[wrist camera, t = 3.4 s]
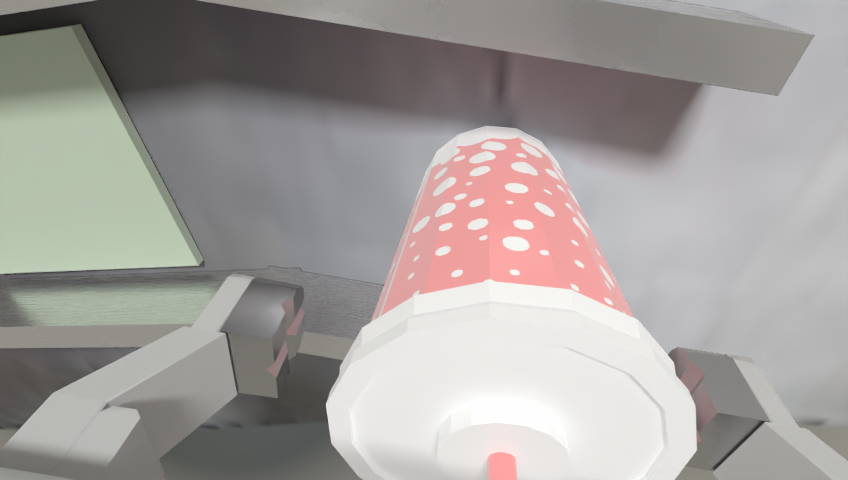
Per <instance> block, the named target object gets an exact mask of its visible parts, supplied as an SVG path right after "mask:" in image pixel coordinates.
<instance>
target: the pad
mask: <svg viewBox="0 0 848 480" xmlns="http://www.w3.org/2000/svg"><path fill="white" fill-rule="evenodd" d="M203 260H204V259H203V257H202V255H201V253H200V251H199V249H198V247H197V246H196V244H195V242H194V240H193V238H192V236H191V234H190V232H189V230H188V228H187V226H186V224H185V223H184V221H183V219H182V217H181V215H180V213H179V211H178V209H177V207H176V205H175V203H174V201H173V200H172V198H171V196H170V194H169V192H168V190H167V188H166V186H165V184H164V182H163V180H162V178H161V177H160V175H159V173H158V171H157V169H156V167H155V165H154V163H153V161H152V159H151V157H150V155H149V154H148V152H147V150H146V148H145V146H144V144H143V142H142V140H141V138H140V136H139V134H138V132H137V131H136V129H135V127H134V125H133V123H132V121H131V119H130V117H129V115H128V113H127V111H126V109H125V108H124V106H123V104H122V102H121V100H120V98H119V96H118V94H117V92H116V90H115V88H114V86H113V85H112V83H111V81H110V79H109V77H108V75H107V73H106V71H105V69H104V67H103V65H102V63H101V62H100V60H99V58H98V56H97V54H96V52H95V50H94V48H93V46H92V44H91V42H90V40H89V39H88V37H87V35H86V33H85V31H84V29H83V27H82V25H81V24H77V25H70V26H63V27H56V28H49V29H42V30H36V31H29V32H22V33H15V34H8V35H1V36H0V274H3V273H28V272H52V271H77V270H101V269H126V268H151V267H175V266H199V265H200V263H201V262H202V261H203Z"/></svg>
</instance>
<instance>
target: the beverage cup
mask: <svg viewBox="0 0 848 480" xmlns="http://www.w3.org/2000/svg"><path fill="white" fill-rule="evenodd" d="M326 409H327V416H328V423H329V430H330V437H331V443H332V445H333V446H334V447H335V448H336V450H337V451H338V452H339V453H340V455H341V456H342V457H343V458H344V460H345V461H346V462H347V463H348V464H349V466H350V467H351V468H352V469H353V471H354V472H355V473H356V474H357V475H358V477H360V478H361V479H363V480H674V479H675V478H676V477H677V476H678V474H679V473H680V472H681V470H682V469H683V468H684V466H685V465H686V464H687V463H688V461H689V460H690V459H691V457H692V456H693V455H694V454H695V452H696V451H697V437H696V406H695V403H694V401H693V399H692V397H691V395H690V392H689V390H688V389H687V387H686V386H685V385H684V384H683V383H682V382H681V380H680V379H679V378H678V377H677V376H676V373H675V366H674V362H673V361H672V360H671V358H670V357H669V356H668V355H667V354H666V353H665V351H664V350H663V349H662V348H661V347H660V345H659V344H658V343H657V342H656V341H655V340H654V338H653V337H652V336H651V335H650V334H649V333H648V331H647V330H646V329H645V328H644V327H643V325H642V324H641V323H640V322H639V321H638V320H637V319H635V318H634V317H633V315H632V313H631V311H630V309H629V307H628V305H627V303H626V300H625V298H624V296H623V294H622V292H621V290H620V288H619V286H618V284H617V282H616V280H615V278H614V276H613V274H612V272H611V270H610V268H609V266H608V264H607V262H606V260H605V258H604V256H603V254H602V252H601V250H600V248H599V246H598V244H597V242H596V240H595V237H594V235H593V233H592V231H591V229H590V227H589V225H588V223H587V221H586V219H585V217H584V215H583V213H582V211H581V209H580V207H579V205H578V203H577V201H576V199H575V197H574V195H573V193H572V191H571V189H570V187H569V185H568V183H567V181H566V179H565V177H564V174H563V172H562V170H561V168H560V166H559V164H558V162H557V161H556V160H555V158H554V157H553V156H552V154H551V153H550V152H549V151H548V149H547V148H546V147H545V145H544V144H543V143H542V142H541V141H540V140H538V139H536V138H534V137H532V136H530V135H528V134H526V133H524V132H522V131H520V130H519V129H517V128H508V127H496V126H484V127H481V128H477V129H474V130H471V131H467V132H464V133H461V134H458V135H457V136H456V137H454V138H453V139H452V140H451V141H449V142H448V143H447V144H446V145H444V146H443V147H442V148H441V149H439V150H438V151H437V152H436V154H435V156H434V158H433V160H432V162H431V164H430V166H429V167H428V169H427V171H426V173H425V176H424V178H423V181H422V184H421V186H420V189H419V192H418V195H417V197H416V200H415V203H414V205H413V208H412V211H411V214H410V216H409V219H408V222H407V224H406V227H405V230H404V233H403V235H402V238H401V241H400V243H399V246H398V249H397V252H396V254H395V257H394V260H393V262H392V265H391V268H390V271H389V273H388V276H387V279H386V281H385V284H384V287H383V290H382V292H381V295H380V298H379V300H378V303H377V306H376V309H375V311H374V314H373V317H372V319H371V322H370V323H369V324H367V325H366V326H364V327H362V329H361V331H360V333H359V334H358V336H357V338H356V339H355V341H354V343H353V345H352V346H351V348H350V350H349V352H348V353H347V355H346V357H345V359H344V360H343V362H342V364H341V366H340V374H339V377H338V378H337V380H336V382H335V384H334V385H333V387H332V389H331V390H330V393H329V397H328V400H327V403H326Z"/></svg>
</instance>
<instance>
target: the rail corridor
mask: <svg viewBox="0 0 848 480" xmlns="http://www.w3.org/2000/svg"><path fill="white" fill-rule="evenodd" d="M89 1H95V0H0V15H5V14H11V13H18V12H24V11H31V10H37V9H44V8H50V7H57V6H63V5H70V4H76V3H82V2H89ZM198 1H204V2H210V3H216V4H222V5H228V6H234V7H240V8H246V9H252V10H258V11H265V12H271V13H277V14H283V15H289V16H295V17H301V18H307V19H313V20H319V21H325V22H331V23H337V24H343V25H350V26H356V27H362V28H368V29H374V30H380V31H386V32H392V33H398V34H404V35H410V36H416V37H422V38H429V39H435V40H441V41H447V42H453V43H459V44H465V45H471V46H477V47H483V48H489V49H495V50H501V51H507V52H514V53H520V54H526V55H532V56H538V57H544V58H550V59H556V60H562V61H568V62H574V63H580V64H586V65H593V66H599V67H605V68H611V69H617V70H623V71H629V72H635V73H641V74H647V75H653V76H659V77H665V78H671V79H678V80H684V81H690V82H696V83H702V84H708V85H714V86H720V87H726V88H732V89H738V90H744V91H750V92H757V93H763V94H769V95H775V96H778V95H779V93H780V91H781V90H782V88H783V86H784V85H785V83H786V81H787V80H788V78H789V76H790V75H791V73H792V72H793V70H794V68H795V67H796V65H797V63H798V62H799V60H800V58H801V57H802V55H803V53H804V52H805V50H806V48H807V47H808V45H809V43H810V42H811V40H812V39H813V37H814V35H812V34H808V33H805V32H802V31H799V30H796V29H793V28H790V27H786V26H783V25H780V24H777V23H774V22H771V21H768V20H765V19H761V18H758V17H755V16H752V15H749V14H746V13H743V12H738V11H732V10H726V9H720V8H714V7H707V6H701V5H695V4H689V3H683V2H677V1H671V0H198ZM233 273H236V274H241V275H246V276H251V277H259V278H265V279H270V280H275V281H280V282H286V283H291V284H296V285H301V286H302V287H303V288H304V301H303V303H302V305H301V307H300V308H301V309H302V311H303V312H304V313H305V327H304V333H303V337H302V341H301V345H300V347H299V350H298V352H299V353H305V354H311V355H316V356H322V357H328V358H334V359H340V360H344V359H345V357H346V355H347V353H348V352H349V350H350V348H351V346H352V345H353V343H354V341H355V339H356V338H357V336H358V334H359V333H360V331H361V329H362V327H364V326H366V325H367V324H369V323H370V322H371V319H372V317H373V314H374V311H375V309H376V306H377V303H378V300H379V298H380V295H381V292H382V290H383V287H384V285H379V284H373V283H367V282H361V281H355V280H349V279H343V278H337V277H332V276H326V275H320V274H314V273H308V272H302V271H301V269H300V268H286V269H285V268H279V267H273V266H269V267H268V268H267V269H260V270H234V271H208V272H181V273H155V274H129V275H103V276H76V277H50V278H24V279H9V280H8V281H7V282H5V283H4V284H3V285H1V286H0V348H69V347H144V346H146V345H148V344H150V343H152V342H154V341H156V340H158V339H160V338H162V337H164V336H166V335H168V334H170V333H172V332H173V331H175V330H177V329H179V328H181V327H183V326H186V327H192V325H193V324H194V322H195V321H196V320H197V318H198V317H199V316H200V314H201V313H202V311H203V310H204V309H205V307H206V306H207V305H208V303H209V302H210V300H211V299H212V298H213V296H214V295H215V293H216V292H217V291H218V289H219V288H220V287H221V285H222V284H223V282H224V281H225V280H226V278H227V277H228V276H230V275H232V274H233Z"/></svg>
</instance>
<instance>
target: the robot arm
mask: <svg viewBox="0 0 848 480" xmlns="http://www.w3.org/2000/svg"><path fill="white" fill-rule="evenodd" d="M303 301H304V288H303V287H302V286H301V285H296V284H291V283H286V282H280V281H275V280H270V279H265V278H259V277H251V276H246V275H241V274H236V273H233V274H232V275H230V276H228V277H227V278H226V280H225V281H224V282H223V284H222V285H221V287H220V288H219V289H218V291H217V292H216V293H215V295H214V296H213V298H212V299H211V300H210V302H209V303H208V305H207V306H206V307H205V309H204V310H203V311H202V313H201V314H200V316H199V317H198V318H197V320H196V321H195V322H194V324H193V325H192V327H186V326H183V327H181V328H179V329H177V330H175V331H173V332H172V333H170V334H168V335H166V336H164V337H162V338H160V339H158V340H156V341H154V342H152V343H150V344H148V345H146V346H144V347H142V348H140V349H138V350H136V351H134V352H132V353H130V354H128V355H127V356H125V357H123V358H121V359H119V360H117V361H115V362H113V363H111V364H109V365H107V366H105V367H103V368H101V369H99V370H97V371H95V372H93V373H91V374H89V375H87V376H85V377H83V378H82V379H80V380H78V381H76V382H74V383H72V384H70V385H68V386H66V387H64V388H62V389H60V390H58V391H56V392H54V393H52V395H51V396H50V397H49V398H48V399H47V400H46V401H45V402H44V403H43V404H42V405H41V406H40V408H39V409H38V410H37V411H36V412H35V413H34V414H33V415H32V416H31V417H30V418H29V419H28V421H27V422H26V423H25V424H24V425H23V426H22V427H21V428H20V429H19V430H18V431H17V432H16V434H15V435H14V436H13V437H12V438H11V439H10V440H9V441H8V442H7V443H6V445H4V447H3V448H2V449H1V450H0V480H167V478H166V475H165V473H164V471H163V468H162V466H161V464H160V461H159V458H160V457H161V456H163V455H164V454H165V453H167V452H168V451H169V450H170V449H171V448H173V447H174V446H175V445H176V444H177V443H179V442H180V441H181V440H183V439H184V438H185V437H186V436H187V435H189V434H190V433H191V432H192V431H194V430H195V429H196V428H197V427H199V426H200V425H201V424H202V423H204V422H205V421H206V420H207V419H208V418H210V417H211V416H212V415H213V414H215V413H216V412H217V411H218V410H220V409H221V408H222V407H223V406H224V405H226V404H227V403H228V402H229V401H231V400H232V399H233V398H234V397H236V396H237V393H244V394H251V395H259V396H266V397H273V398H278V397H279V395H280V392H281V390H282V388H283V385H284V383H285V381H286V378H287V376H288V374H289V360H290V359H291V358H293V357H294V356H296V355H297V352H298V350H299V347H300V345H301V341H302V337H303V333H304V327H305V313H304V312H303V311H302V309H301V308H300V307H301V305H302V303H303ZM668 356H669V357H670V358H671V360H672V361H673V362H674V366H675V373H676V376H677V377H678V378H679V379H680V380H681V382H682V383H683V384H684V385H685V386H686V387H687V389H688V390H689V392H690V395H691V397H692V399H693V401H694V403H695V406H696V437H697V451H696V452H695V454H694V455H693V456H692V457H691V459H690V460H689V461H688V463H687V464H686V465H685V466H690V467H695V468H700V469H705V470H711V471H714V472H713V474H714V476H715V477H716V478H717V479H718V480H848V461H847V460H846V459H845V458H843V457H842V456H841V455H839V454H838V453H837V452H836V451H834V450H833V449H832V448H831V447H829V446H828V445H827V444H825V443H824V442H823V441H821V440H820V439H819V438H818V437H816V436H815V435H814V434H813V433H811V432H810V431H809V430H807V429H805V428H799V427H798V425H797V424H796V422H795V421H794V419H793V418H792V416H791V415H790V413H789V412H788V410H787V409H786V407H785V406H784V404H783V403H782V401H781V400H780V398H779V397H778V395H777V393H776V392H775V390H774V389H773V387H772V386H771V384H770V383H769V381H768V380H767V378H766V377H765V375H764V374H763V372H762V371H761V369H760V368H759V366H758V365H757V364H756V363H755V362H754V361H753V360H751V359H750V358H746V357H739V356H732V355H726V354H725V355H723V354H719V353H712V352H706V351H699V350H693V349H686V348H680V347H677V348H675V349H673V350H672V351H671V352H670V353H669V354H668Z"/></svg>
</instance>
